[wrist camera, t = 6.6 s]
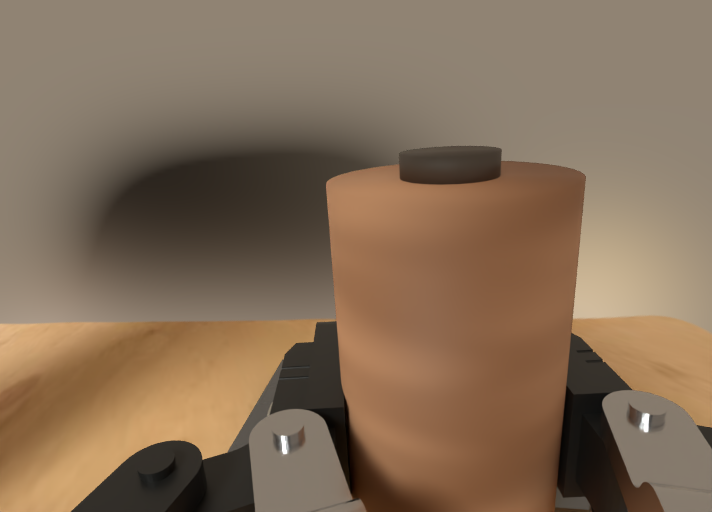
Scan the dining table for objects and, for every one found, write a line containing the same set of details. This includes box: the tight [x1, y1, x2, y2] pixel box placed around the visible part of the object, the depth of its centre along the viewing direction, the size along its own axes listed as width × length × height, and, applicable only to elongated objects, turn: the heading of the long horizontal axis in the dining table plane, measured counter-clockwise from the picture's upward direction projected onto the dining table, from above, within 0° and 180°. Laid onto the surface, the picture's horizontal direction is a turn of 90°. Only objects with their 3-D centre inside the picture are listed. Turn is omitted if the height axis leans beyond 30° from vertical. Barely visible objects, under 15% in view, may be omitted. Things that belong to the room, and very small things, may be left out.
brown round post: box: [326, 146, 586, 512], centre depth 9 cm, size 6×6×12 cm
